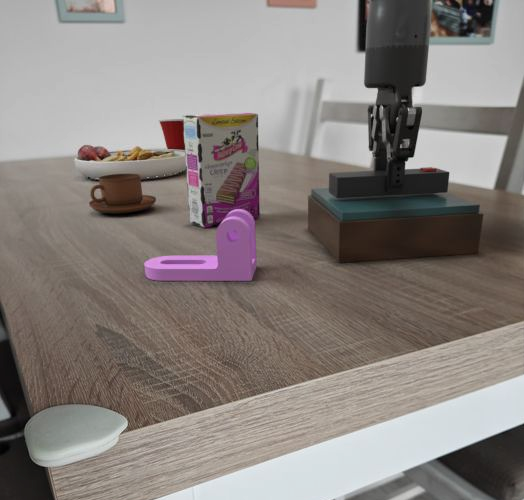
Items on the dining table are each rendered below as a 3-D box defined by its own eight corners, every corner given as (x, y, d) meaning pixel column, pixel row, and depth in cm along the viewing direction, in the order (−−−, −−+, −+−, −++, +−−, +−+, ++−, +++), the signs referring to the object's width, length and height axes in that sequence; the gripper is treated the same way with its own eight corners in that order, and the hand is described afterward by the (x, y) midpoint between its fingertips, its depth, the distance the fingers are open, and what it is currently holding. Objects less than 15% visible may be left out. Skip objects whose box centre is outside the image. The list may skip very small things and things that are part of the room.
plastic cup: (198, 155, 186) (195, 117, 181) (191, 159, 177) (188, 118, 171) (166, 156, 187) (163, 118, 182) (158, 160, 178) (154, 119, 173)
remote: (328, 192, 76) (329, 170, 74) (433, 187, 77) (435, 165, 76) (336, 198, 72) (337, 175, 70) (447, 192, 73) (450, 169, 72)
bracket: (256, 266, 67) (254, 208, 64) (251, 280, 62) (248, 219, 59) (153, 266, 69) (146, 210, 66) (139, 280, 64) (131, 220, 61)
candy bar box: (205, 229, 86) (196, 115, 79) (189, 224, 90) (179, 115, 83) (262, 218, 92) (259, 111, 85) (245, 214, 96) (241, 111, 89)
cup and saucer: (130, 219, 95) (125, 182, 92) (76, 215, 99) (70, 180, 97) (169, 206, 105) (166, 172, 102) (118, 203, 109) (114, 171, 107)
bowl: (194, 165, 162) (192, 136, 158) (188, 180, 135) (185, 146, 131) (91, 169, 161) (86, 140, 157) (64, 185, 133) (58, 151, 130)
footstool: (420, 221, 87) (424, 182, 84) (478, 253, 69) (484, 205, 67) (307, 228, 85) (308, 188, 82) (338, 262, 68) (339, 213, 65)
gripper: (452, 38, 61) (435, 196, 68) (405, 47, 74) (396, 180, 81) (386, 40, 60) (377, 199, 67) (351, 49, 73) (346, 182, 80)
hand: (387, 188), depth 74 cm, fingers closed on remote, 4 cm apart
